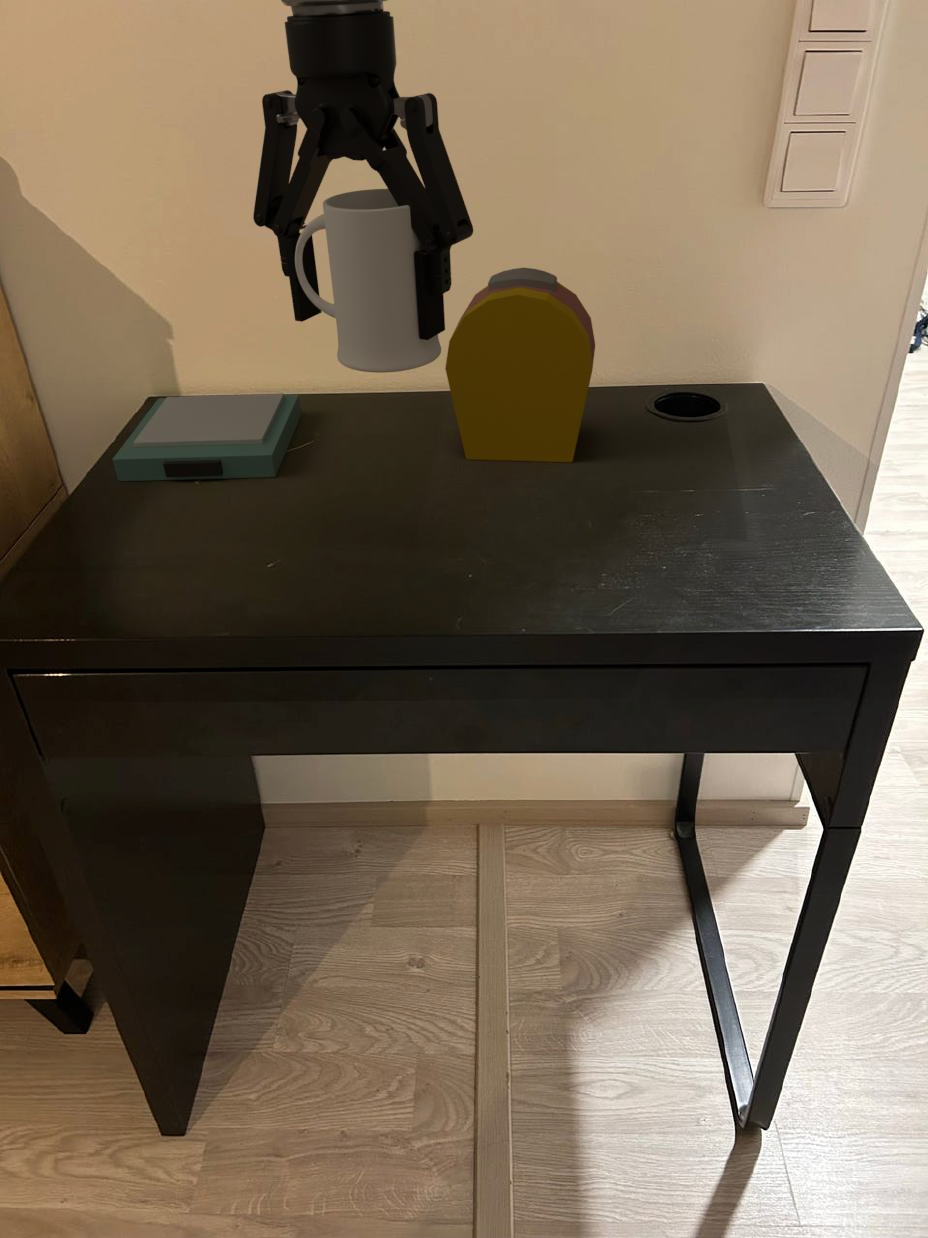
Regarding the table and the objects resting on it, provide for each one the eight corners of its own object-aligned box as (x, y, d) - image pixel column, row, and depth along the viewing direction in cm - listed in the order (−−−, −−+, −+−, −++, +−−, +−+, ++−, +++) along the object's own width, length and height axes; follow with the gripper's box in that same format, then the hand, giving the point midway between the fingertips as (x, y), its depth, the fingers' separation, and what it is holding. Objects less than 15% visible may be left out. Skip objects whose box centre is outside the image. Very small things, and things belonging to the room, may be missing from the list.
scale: (116, 484, 101) (108, 456, 100) (163, 418, 116) (157, 393, 114) (274, 479, 101) (269, 451, 99) (301, 414, 115) (298, 388, 113)
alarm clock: (592, 431, 108) (598, 262, 97) (588, 462, 101) (595, 285, 91) (461, 428, 110) (454, 263, 99) (450, 458, 103) (440, 285, 93)
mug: (284, 361, 78) (260, 205, 71) (338, 330, 84) (321, 183, 78) (411, 378, 74) (399, 213, 67) (458, 343, 80) (451, 189, 73)
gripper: (517, 2, 63) (519, 329, 76) (239, 9, 73) (281, 296, 86) (462, 8, 58) (474, 359, 70) (170, 15, 68) (226, 321, 80)
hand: (368, 325), depth 78 cm, fingers closed on mug, 11 cm apart
